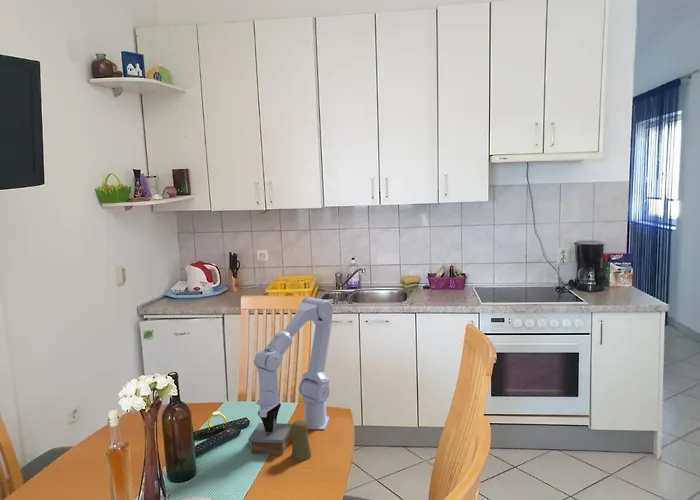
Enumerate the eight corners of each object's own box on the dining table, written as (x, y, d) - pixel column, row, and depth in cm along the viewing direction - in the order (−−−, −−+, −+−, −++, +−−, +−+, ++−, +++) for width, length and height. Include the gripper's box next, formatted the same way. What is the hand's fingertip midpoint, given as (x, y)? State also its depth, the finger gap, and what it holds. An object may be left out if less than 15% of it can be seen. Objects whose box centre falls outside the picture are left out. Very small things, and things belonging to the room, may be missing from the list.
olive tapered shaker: (308, 461, 158) (306, 426, 156) (288, 460, 159) (287, 425, 158) (313, 451, 164) (312, 418, 162) (294, 450, 165) (293, 416, 164)
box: (261, 437, 174) (260, 426, 173) (290, 439, 172) (290, 427, 172) (251, 453, 164) (250, 441, 163) (282, 454, 162) (282, 442, 162)
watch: (208, 432, 179) (206, 416, 178) (209, 428, 182) (207, 412, 181) (226, 429, 180) (224, 413, 179) (227, 426, 183) (225, 409, 182)
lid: (259, 425, 174) (258, 412, 173) (292, 426, 172) (291, 413, 172) (248, 441, 163) (247, 427, 162) (283, 443, 161) (282, 429, 161)
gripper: (263, 379, 173) (265, 418, 175) (248, 397, 159) (251, 439, 161) (284, 379, 172) (285, 419, 174) (271, 397, 158) (273, 440, 160)
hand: (270, 429), depth 167 cm, fingers closed on lid, 3 cm apart
